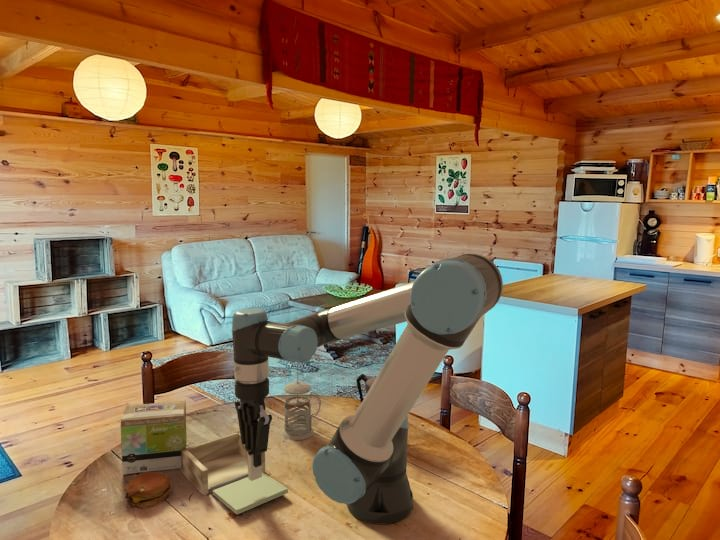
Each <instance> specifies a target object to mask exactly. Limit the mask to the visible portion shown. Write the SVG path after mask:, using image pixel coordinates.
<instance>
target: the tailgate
mask: <svg viewBox="0 0 720 540" xmlns="http://www.w3.org/2000/svg"><path fill="white" fill-rule="evenodd" d="M210 490H211V492H210V493H212V495H213V496H214V497H215V498H216V499H218V500H219V501H220V502H221V503H222V504H223V505H225V506H226V507H227V508H228V509H229V510H231V511H232V512H233V513H234V514H236V515H239V514H242V513H244V512H246V511H249V510H251V509H254V508H255V507H258V506H261V505H262V504H265V503H267V502H269V501H273V500H274V499H277V498H279V497H281V496H284V495H286V494H288V493H289V489H288V487H286V486H284V485H283V484H281V483H280V482H278V481H277V480H275V479H274V478H272V477H271V476H269V475H267V474H266V473H265V472H262V477H260V478H258V479H255V480H253V481H251V480H250V479H248V474H245V475H242V476H240V477H237V478H234V479H232V480H229V481H226V482H224V483H221V484H218V485H216V486H213V487H211V488H210Z"/></svg>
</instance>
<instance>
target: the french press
mask: <svg viewBox="0 0 720 540" xmlns="http://www.w3.org/2000/svg"><path fill="white" fill-rule="evenodd" d="M296 363H297V364H296V365H297V366H296V367H297V368H296V369H297V373H296V375H297V378H296V379H297V381H291V382H290V383H288V384H286V385H284V387H283V391H284V392H285V393H286V394H289V395H294V396H291V397H288V398H287V399H285V405H284V428H283V429H282V430H281V431H280V433H281V435H282V437H283V438H285V439H288V440H293V441H296V440H297V441H298V440H301V441H302V440H305V439H308V438H311V437H312V436H313V435H314V433H315V429H314V428H313V427H312V418H315V417H316V416H318V415H319V412H320V409H321V405H322V404H321V403H322V401H321V398H320V396H319V395H318V394H317V393H316V392H314V391H311V390H312V386H311V385H310V384H308V383H307V382H305V381H299V362H296ZM309 392H310V394H309V398H308V397H305V396H301V395H305V394H308V393H309ZM295 395H296V396H295ZM312 396H313V397H315V398H316V399H317V402H318V410H317V411H316V412H315V413H313V414H311V413H312V412H311V411H312V409H311V407H312V405H311V403H310V402H311V400H310V399H311V398H312ZM293 408H294V409H293ZM291 409H292V410H291Z"/></svg>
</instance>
